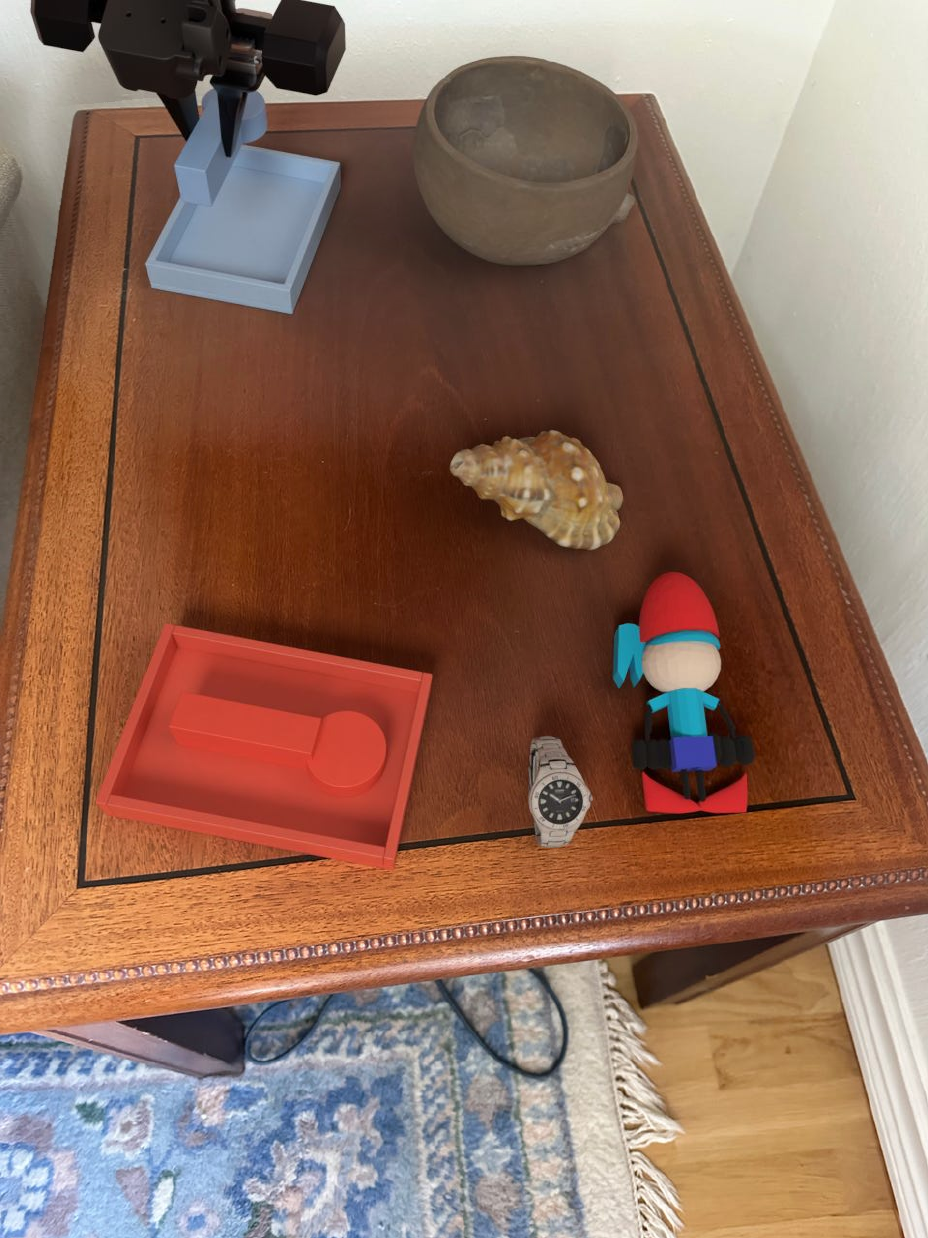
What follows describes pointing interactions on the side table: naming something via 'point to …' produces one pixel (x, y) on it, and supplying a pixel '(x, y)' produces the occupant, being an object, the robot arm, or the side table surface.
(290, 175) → the blue tray
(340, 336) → the side table surface
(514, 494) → the seashell
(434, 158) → the bowl
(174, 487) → the side table surface
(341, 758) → the red spoon
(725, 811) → the toy figure
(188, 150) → the blue spoon
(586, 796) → the wristwatch
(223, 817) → the red tray
